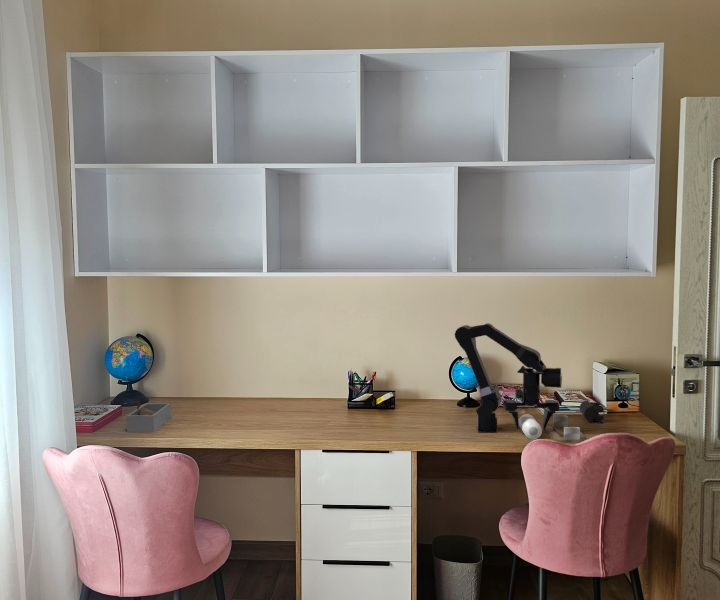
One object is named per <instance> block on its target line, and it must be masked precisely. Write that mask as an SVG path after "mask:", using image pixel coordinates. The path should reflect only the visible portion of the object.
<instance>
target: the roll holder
mask: <svg viewBox="0 0 720 600" xmlns="http://www.w3.org/2000/svg"><path fill="white" fill-rule="evenodd" d="M568 421H569V416H568V415H565V414H564V415H562V414H559V415H558V414H557V415H556V414H555V415H554V414H552V425H547V426H546V428H545V430H544V431H546V433H547V434H548V435H549V436H550V437H551V439H552V440H553V441H554V442H555V441H558V442H561V443H568V444H569V443H575V444H576V443H578V444H580V442H582V441H584V440H586V439H588V437H586V436H585V435H584V434H583V432H582V431H581V428H580V427H579V426H574V425H568V423H569V422H568ZM558 442H557V443H558Z"/></svg>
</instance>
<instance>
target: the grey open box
mask: <svg viewBox="0 0 720 600" xmlns="http://www.w3.org/2000/svg"><path fill="white" fill-rule="evenodd" d="M133 404H136V405H137V408H136V409H139V407H141V406H140V405H141V401H139V400H136V401H133V402H131V403H130V404H129V405H128V408H130V406H131V405H133ZM154 413H155V412H153V411H151V410H149V409H146V408H143V409H140V410H139V415H153V414H154ZM165 424H166V423H164V422H163V423H162V425H163V426H164V425H165Z"/></svg>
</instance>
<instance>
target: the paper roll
mask: <svg viewBox="0 0 720 600" xmlns="http://www.w3.org/2000/svg"><path fill="white" fill-rule="evenodd" d="M518 423H519V428H520V430H522V432H523V433H524V435H525V437H526V438H528V439H530V440H537V439H539V438H540V437H541V436H542V433H543V427H542V426H541V425H540V423H539V422H538V421H537V420H536V418H535V417H534V416H533V415H532V414H529V413H525V414H522V415H521V416H520V417H518Z"/></svg>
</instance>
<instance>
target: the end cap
mask: <svg viewBox="0 0 720 600" xmlns="http://www.w3.org/2000/svg"><path fill="white" fill-rule="evenodd" d="M604 411H605V408H604V406H603V405H601V403H600V402H599V401H598V402H595V401H593V402H592V401H589V400H584V401H582V402H581V403H580V405H579V412H580V413H581V415H582V416H583V417H584V418H585V419H586V420H587V422H589V423H590V424H604V421H603V420H604V415H600V414H599V413H604Z"/></svg>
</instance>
